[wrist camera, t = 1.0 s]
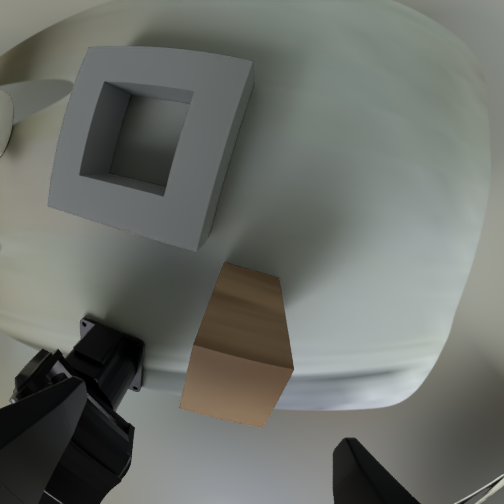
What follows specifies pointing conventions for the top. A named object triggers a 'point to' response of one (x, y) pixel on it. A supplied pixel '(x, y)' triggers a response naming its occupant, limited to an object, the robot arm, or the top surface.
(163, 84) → the well block
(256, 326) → the walnut post
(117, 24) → the top surface
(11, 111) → the mug
